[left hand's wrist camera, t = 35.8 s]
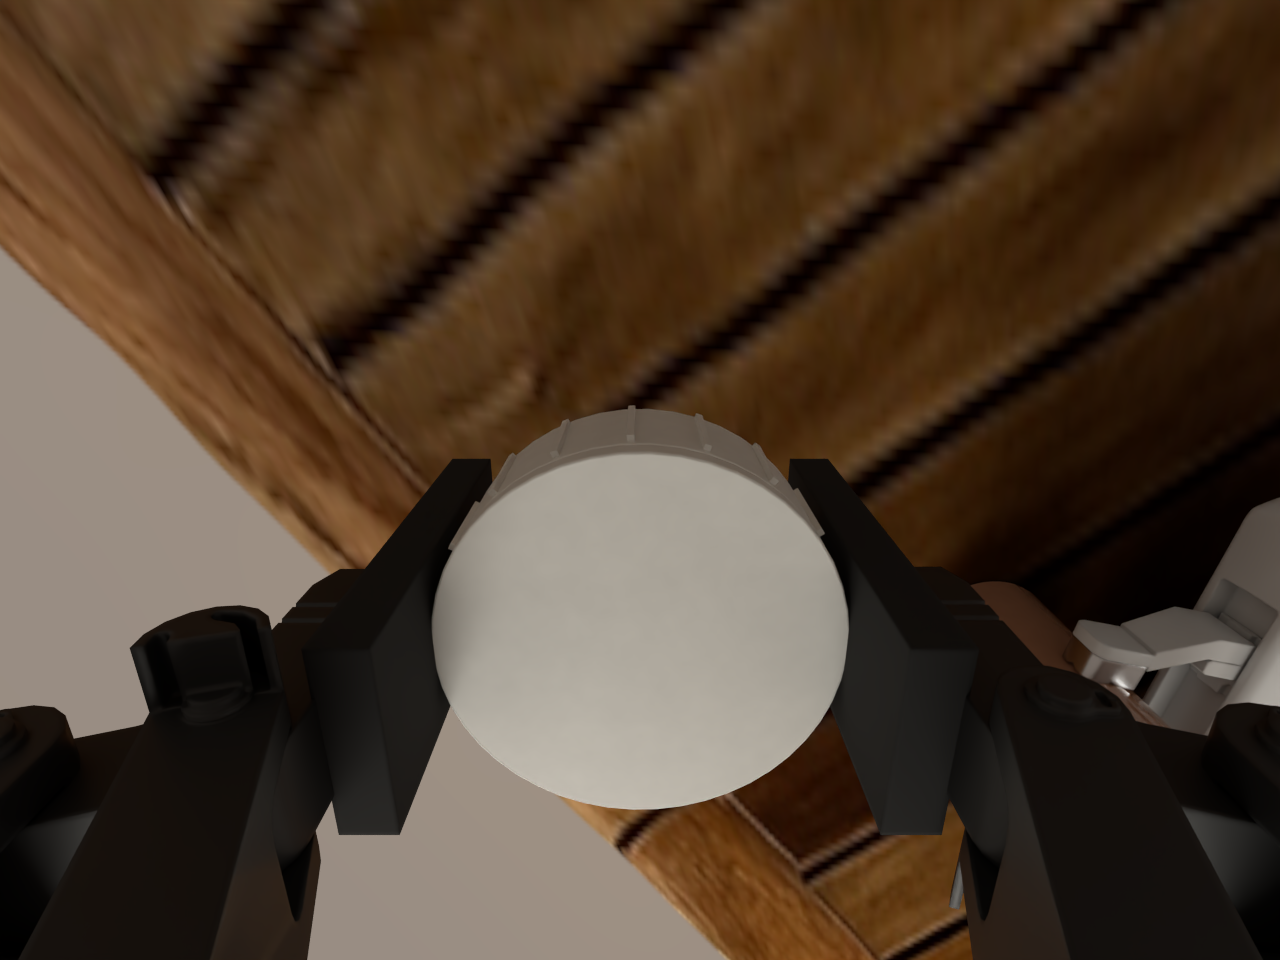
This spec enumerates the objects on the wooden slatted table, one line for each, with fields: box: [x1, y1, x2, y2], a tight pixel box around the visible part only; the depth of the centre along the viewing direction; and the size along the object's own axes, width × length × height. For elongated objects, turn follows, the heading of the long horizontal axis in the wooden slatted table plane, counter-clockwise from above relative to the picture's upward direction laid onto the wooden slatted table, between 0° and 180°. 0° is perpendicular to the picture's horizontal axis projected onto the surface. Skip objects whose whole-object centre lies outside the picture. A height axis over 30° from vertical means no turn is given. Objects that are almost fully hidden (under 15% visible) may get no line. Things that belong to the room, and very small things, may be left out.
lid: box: [432, 406, 849, 809], centre depth 11 cm, size 6×6×2 cm
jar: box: [971, 581, 1172, 729], centre depth 22 cm, size 6×6×18 cm
